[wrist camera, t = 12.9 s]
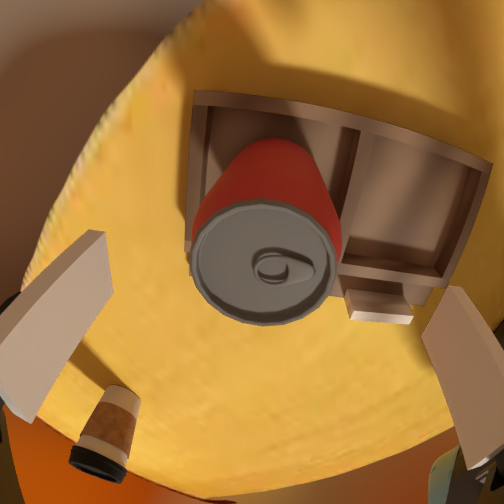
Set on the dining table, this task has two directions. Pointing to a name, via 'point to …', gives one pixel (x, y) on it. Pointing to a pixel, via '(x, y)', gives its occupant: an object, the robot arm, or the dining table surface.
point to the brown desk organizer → (356, 193)
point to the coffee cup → (108, 436)
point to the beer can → (267, 236)
